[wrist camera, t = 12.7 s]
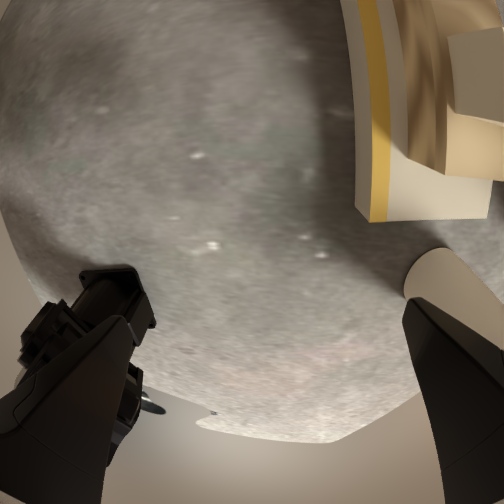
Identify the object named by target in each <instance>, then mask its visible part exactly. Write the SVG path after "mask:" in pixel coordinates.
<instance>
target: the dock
mask: <svg viewBox="0 0 504 504" xmlns="http://www.w3.org/2000/svg"><path fill="white" fill-rule="evenodd" d="M340 2H341V7H342V13H343V18H344V24H345V30H346V37H347V43H348V51H349V59H350V68H351V77H352V89H353V102H354V120H355V207H356V208H357V209H358V210H359V211H360V213H361V214H362V215H363V216H364V217H365V218H366V219H367V221H368V222H369V223H372V222H386V221H409V220H438V219H478V218H487V213H488V208H489V202H490V196H491V190H492V183H493V180H489V179H480V178H470V177H459V176H446V175H443V174H441V173H439V172H437V171H435V170H432V169H430V168H428V167H426V166H424V165H421V164H419V163H417V162H414V161H412V160H410V159H407V155H408V114H407V93H406V80H405V70H404V61H403V54H402V47H401V40H400V34H399V29H398V23H397V19H396V14H395V9H394V5H393V1H392V0H340Z"/></svg>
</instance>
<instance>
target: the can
mask: <svg viewBox="0 0 504 504" xmlns="http://www.w3.org/2000/svg"><path fill="white" fill-rule="evenodd" d="M404 296H405V298H406V300H407V301H408V300H409V299H410V298H413V297H422V298H424V299H425V300H427V301H429V302H430V303H432V304H433V305H435V306H437V307H438V308H440V309H441V310H443V311H445V312H446V313H448V314H449V315H451V316H452V317H454V318H456V319H457V320H459V321H460V322H462V323H463V324H465V325H466V326H468V327H469V328H471V329H472V330H474V331H475V332H477V333H478V334H480V335H481V336H483V337H484V338H486V339H487V340H489V341H490V342H492V343H493V344H495V345H496V346H498V347H499V348H500V350H501V349H502V350H503V351H504V305H503V304H502V303H501V302H500V301H499V299H498V298H497V297H496V296H495V295H494V293H493V292H492V291H491V290H490V289H489V288H488V287H487V285H486V284H485V283H484V282H483V281H482V280H481V279H480V278H479V277H478V276H477V275H476V274H475V273H474V271H473V270H472V269H471V268H470V267H469V266H468V265H467V264H466V263H465V262H464V261H463V260H462V259H461V258H460V257H459V256H457V255H456V254H455V253H454V252H453V251H452V250H450V249H448V248H437V249H433V250H430V251H428V252H426V253H425V254H423V255H422V256H421V257H419V258H418V259H417V260H416V261H415V263H414V264H413V265H412V267H411V268H410V270H409V272H408V274H407V276H406V279H405V283H404Z"/></svg>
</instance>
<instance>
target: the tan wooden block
mask: <svg viewBox="0 0 504 504" xmlns="http://www.w3.org/2000/svg"><path fill="white" fill-rule="evenodd" d="M392 1H393V5H394V9H395V14H396V19H397V23H398V29H399V34H400V40H401V47H402V54H403V61H404V70H405V80H406V93H407V114H408V155H407V159H410V160H412V161H414V162H417V163H419V164H421V165H424V166H426V167H428V168H430V169H432V170H435V171H437V172H439V173H441V174H443V175H446V176H459V177H470V178H480V179H489V180H497V181H504V127H502V126H499V125H496V124H493V123H489V122H486V121H482V120H479V119H475V118H471V117H467V116H463V115H459V114H455V98H454V84H453V74H452V66H451V58H450V52H449V46H448V40H447V37H449V36H453V35H457V34H462V33H467V32H472V31H477V30H483V29H490V28H497V27H503V24H502V21H501V17H500V14H499V11H498V7H497V4H496V1H495V0H392Z"/></svg>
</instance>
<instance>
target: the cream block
mask: <svg viewBox="0 0 504 504" xmlns="http://www.w3.org/2000/svg"><path fill="white" fill-rule="evenodd" d="M447 40H448V46H449V52H450V58H451V66H452V74H453V84H454V98H455V114H459V115H463V116H467V117H471V118H475V119H479V120H482V121H486V122H489V123H493V124H496V125H499V126H502V127H504V28H503V27H497V28H490V29H483V30H477V31H472V32H467V33H462V34H457V35H453V36H449V37H447Z"/></svg>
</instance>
